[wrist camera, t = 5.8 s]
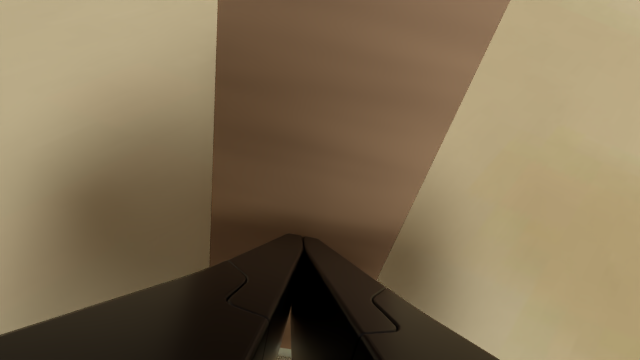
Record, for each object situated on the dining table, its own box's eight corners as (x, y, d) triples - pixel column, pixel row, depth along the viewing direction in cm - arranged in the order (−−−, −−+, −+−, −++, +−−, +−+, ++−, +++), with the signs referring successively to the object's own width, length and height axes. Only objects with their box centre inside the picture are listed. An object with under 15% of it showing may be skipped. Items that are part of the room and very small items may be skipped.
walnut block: (335, 364, 13) (542, -68, 5) (207, 344, 13) (222, -155, 5) (336, 264, 18) (455, -68, 9) (238, 246, 17) (275, -116, 9)
